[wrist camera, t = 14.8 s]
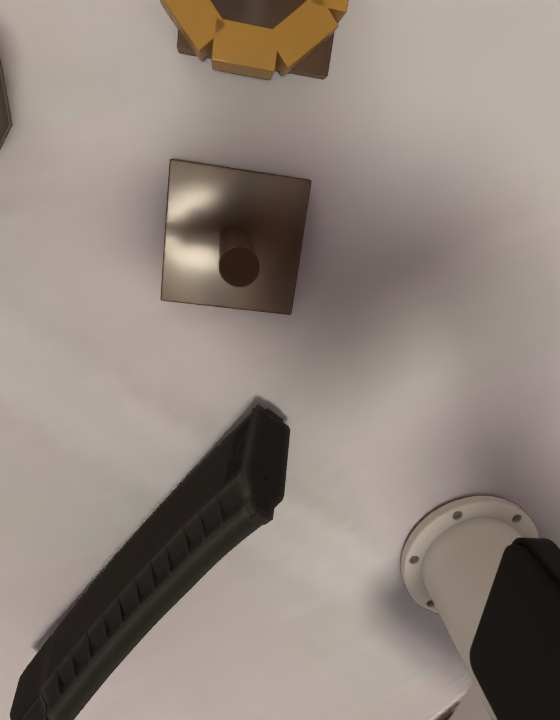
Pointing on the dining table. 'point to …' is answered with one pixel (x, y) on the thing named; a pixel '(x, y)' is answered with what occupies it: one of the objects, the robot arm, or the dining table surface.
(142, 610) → the magazine
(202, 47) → the ring
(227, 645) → the dining table surface
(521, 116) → the dining table surface
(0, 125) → the can
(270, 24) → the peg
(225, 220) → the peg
